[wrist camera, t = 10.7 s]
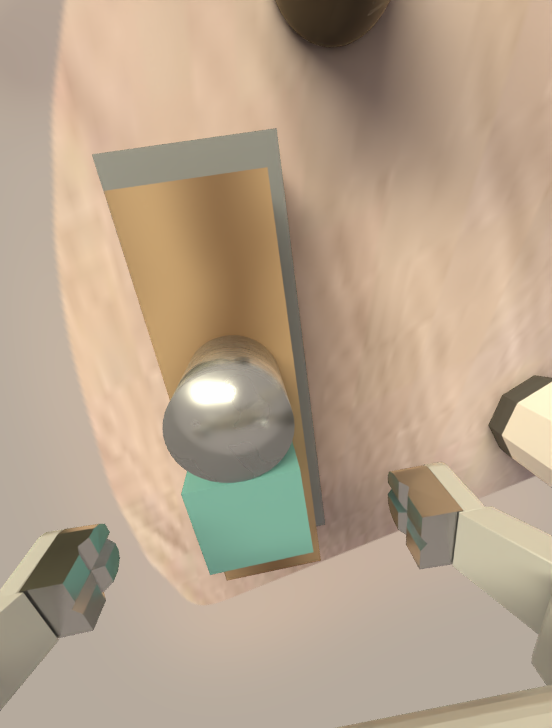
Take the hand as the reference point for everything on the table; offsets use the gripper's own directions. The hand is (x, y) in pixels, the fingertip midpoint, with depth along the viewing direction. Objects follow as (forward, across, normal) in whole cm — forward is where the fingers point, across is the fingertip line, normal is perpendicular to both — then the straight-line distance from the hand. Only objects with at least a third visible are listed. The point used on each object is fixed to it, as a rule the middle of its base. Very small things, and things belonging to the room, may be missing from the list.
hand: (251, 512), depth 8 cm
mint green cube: (+5, 0, +2) cm, 6 cm away
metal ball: (+5, 0, -2) cm, 6 cm away
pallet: (+9, +1, +1) cm, 9 cm away
